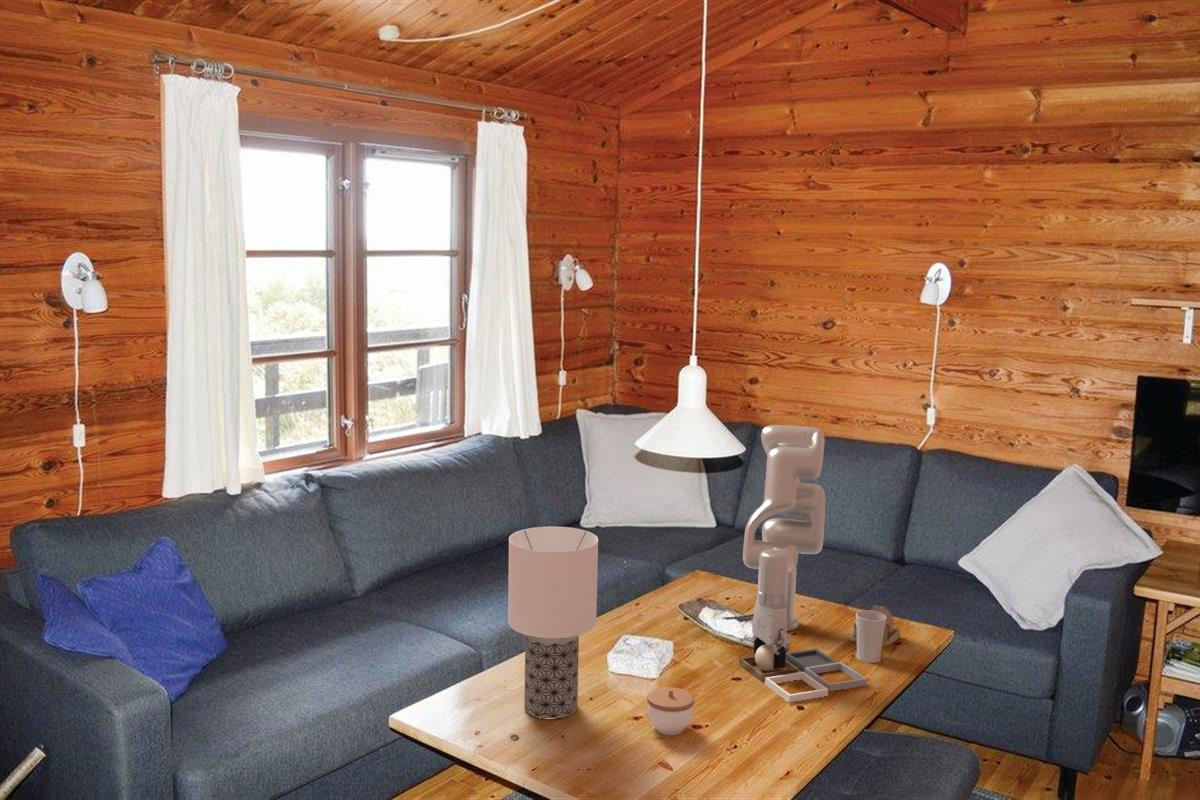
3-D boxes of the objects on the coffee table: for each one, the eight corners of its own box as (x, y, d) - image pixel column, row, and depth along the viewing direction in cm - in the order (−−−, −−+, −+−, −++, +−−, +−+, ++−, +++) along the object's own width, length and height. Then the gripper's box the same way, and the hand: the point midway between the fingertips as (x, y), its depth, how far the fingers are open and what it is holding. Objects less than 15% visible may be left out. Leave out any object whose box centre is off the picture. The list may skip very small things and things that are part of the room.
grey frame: (804, 674, 270) (804, 667, 269) (840, 668, 274) (840, 662, 274) (829, 691, 259) (829, 684, 259) (866, 685, 264) (866, 678, 263)
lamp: (554, 682, 261) (556, 521, 255) (612, 709, 247) (616, 540, 241) (489, 706, 247) (490, 537, 241) (547, 737, 233) (550, 557, 226)
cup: (880, 653, 285) (883, 611, 283) (885, 664, 277) (888, 621, 275) (851, 651, 286) (853, 609, 284) (855, 663, 278) (858, 620, 276)
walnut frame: (739, 664, 275) (739, 658, 275) (775, 659, 279) (775, 652, 279) (761, 681, 265) (761, 674, 264) (798, 675, 269) (799, 668, 269)
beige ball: (770, 678, 267) (771, 653, 266) (749, 668, 273) (750, 644, 272) (787, 671, 271) (789, 647, 270) (766, 662, 277) (768, 638, 276)
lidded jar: (679, 744, 231) (680, 704, 229) (637, 731, 236) (638, 692, 235) (701, 726, 240) (702, 687, 238) (660, 714, 245) (661, 676, 244)
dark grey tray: (784, 658, 279) (784, 653, 279) (815, 654, 283) (816, 648, 283) (805, 673, 270) (805, 667, 270) (837, 668, 274) (837, 662, 274)
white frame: (764, 684, 263) (765, 677, 263) (802, 678, 267) (802, 671, 267) (789, 702, 253) (789, 695, 252) (827, 696, 257) (828, 689, 257)
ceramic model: (872, 650, 287) (874, 616, 285) (841, 637, 296) (843, 603, 295) (906, 641, 295) (908, 607, 293) (875, 628, 304) (878, 595, 302)
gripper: (742, 588, 275) (739, 650, 278) (777, 610, 260) (774, 675, 262) (767, 585, 278) (764, 647, 281) (803, 607, 262) (799, 671, 265)
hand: (769, 660), depth 271 cm, fingers open, 9 cm apart
